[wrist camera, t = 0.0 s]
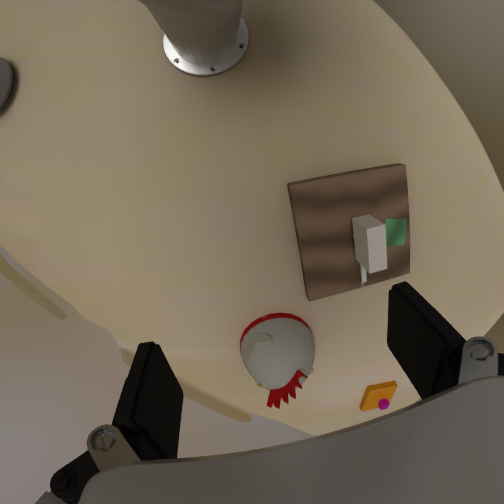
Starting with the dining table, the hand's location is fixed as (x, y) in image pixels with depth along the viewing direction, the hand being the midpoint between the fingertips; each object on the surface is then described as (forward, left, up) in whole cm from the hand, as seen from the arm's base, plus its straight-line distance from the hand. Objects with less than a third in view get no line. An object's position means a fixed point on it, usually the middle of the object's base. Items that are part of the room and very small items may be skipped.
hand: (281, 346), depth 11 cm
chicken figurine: (+30, 0, -37) cm, 48 cm away
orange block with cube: (+56, +22, -38) cm, 71 cm away
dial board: (+11, +17, -37) cm, 42 cm away
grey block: (+14, +17, -34) cm, 41 cm away
